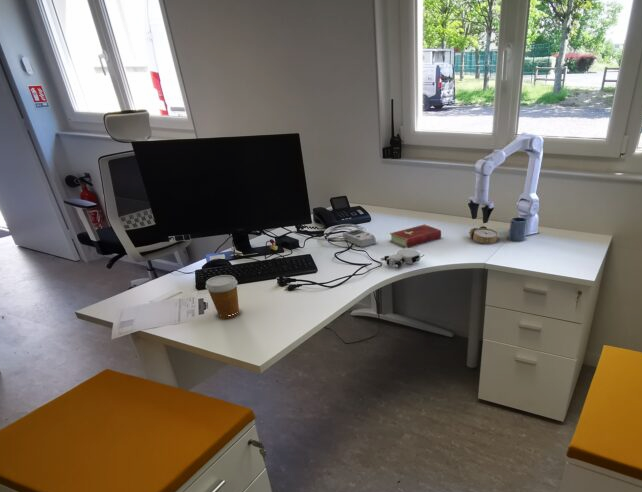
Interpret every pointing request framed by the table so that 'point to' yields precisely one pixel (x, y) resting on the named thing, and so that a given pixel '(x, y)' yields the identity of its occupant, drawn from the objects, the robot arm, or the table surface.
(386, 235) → the table surface
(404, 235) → the hardcover book
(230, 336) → the table surface
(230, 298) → the disposable coffee cup
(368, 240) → the handheld gaming device
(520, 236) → the pen pot
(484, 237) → the alarm clock
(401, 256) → the robot toy
